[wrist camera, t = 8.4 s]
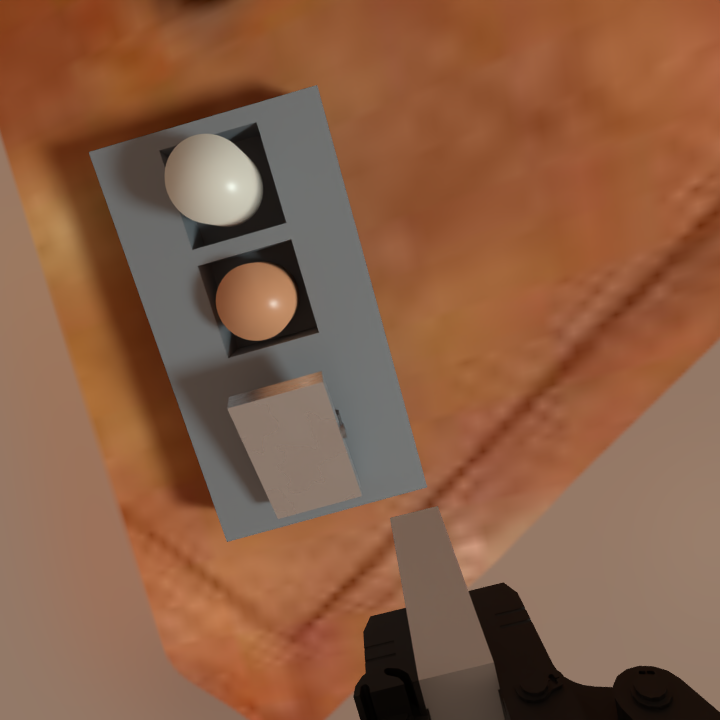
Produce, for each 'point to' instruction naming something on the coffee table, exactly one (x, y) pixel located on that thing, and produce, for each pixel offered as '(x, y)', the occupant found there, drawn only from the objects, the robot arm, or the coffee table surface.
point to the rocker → (296, 444)
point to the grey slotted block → (303, 332)
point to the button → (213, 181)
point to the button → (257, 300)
